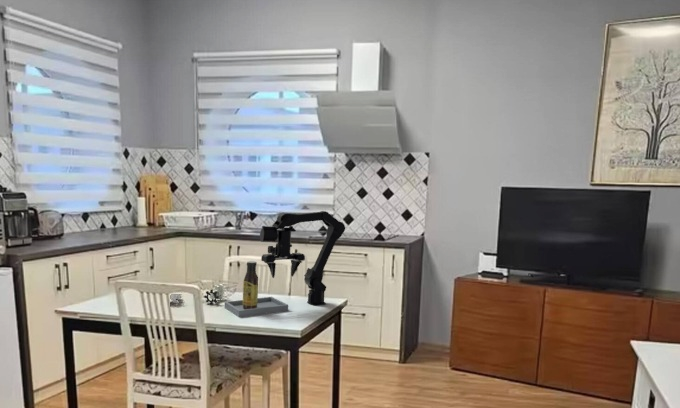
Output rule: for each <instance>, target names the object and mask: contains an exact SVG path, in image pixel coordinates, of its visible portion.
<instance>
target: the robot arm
mask: <svg viewBox="0 0 680 408" xmlns="http://www.w3.org/2000/svg"><path fill="white" fill-rule="evenodd" d="M315 221H322V223H323V224H325V227H327V228H326V237H325V240H324V243H323V245H322V247H321V249H320V251H319V253H318V256H317V258H316V260H315V262H314V265H313V266H312V267H311V268H309V267H308V268H307V270H306V273H305V274H304V275H303V276H304V283H305V284H306V285H307V288H308V289H309V290H308V294H307V301H306V303H308V304H310V305H312V306H318V305H319V306H320V305H326V304H327V302H325V292H326V289H327V286H326V285H325V284H324V283H323V282H322V281H323V278H324V270H325V266H326V265H327V262H328V260H329V258H330V256H331V253H332V251H333V249H334V247H335V244H336V242H337V241H338V240H339V239H340V238H341V237H342V236H343V234H344V232H345V230H346V225H345V224H344V223H343V222H342V221H339V219H337V218H335V217H334V216H332V214H331V213H329V212H328V211H325V210H321V211H315V212H304V213H291V212H280V213H278V215H277V217H276V220H275V221H274V223H272V225H270V226H268V225H267V226H266V225H262V226H261V230H260V232H259V239H260V242H262V243H263V242H264V243H273V242H274V243H275V242H276V241H277V242H276V243H275V246H274V245H269V246H267V253H265V254H264V253H263V254H262V255H261V259H260V260H261V262H264V263H265V264H267V266H268V268H269V271H270V274H271V277H272V278H273V279H275V276H276V262H275V261H280V260H281V261H282V260H290V262H291V268H290V269H291V270H290V271H291V272H290V276H291V277H294V276H295V273H296V271H297V270H298V267H299V266H300V265H301V264H302V263H303V261H305V260H306V256H305V254H303V253H301V252H292V253H291V248H292V247H293V244H291V243H292V240H291V239H292V232H296V231H297V230H296V229H295V228H294V227H293V226H295V225H297V224H301V223H308V222H315Z"/></svg>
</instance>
